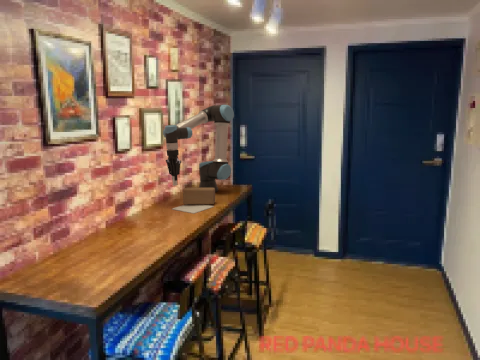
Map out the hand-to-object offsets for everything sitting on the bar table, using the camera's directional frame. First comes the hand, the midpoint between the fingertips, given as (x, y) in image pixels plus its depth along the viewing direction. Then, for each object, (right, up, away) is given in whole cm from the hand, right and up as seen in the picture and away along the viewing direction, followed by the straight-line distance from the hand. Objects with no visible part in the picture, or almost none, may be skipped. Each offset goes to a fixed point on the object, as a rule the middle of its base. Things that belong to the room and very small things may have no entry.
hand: (175, 185), depth 243 cm
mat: (+12, -14, -7) cm, 20 cm away
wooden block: (+6, -7, +2) cm, 9 cm away
